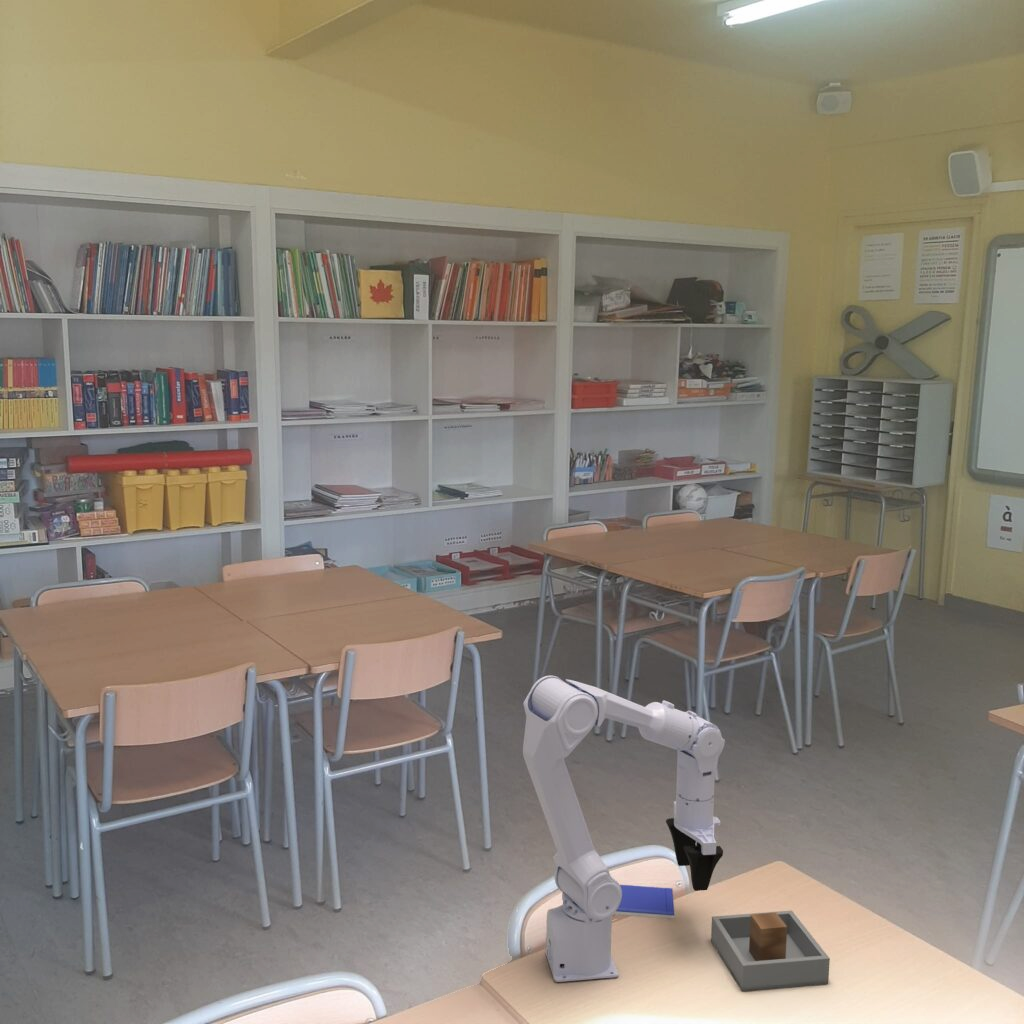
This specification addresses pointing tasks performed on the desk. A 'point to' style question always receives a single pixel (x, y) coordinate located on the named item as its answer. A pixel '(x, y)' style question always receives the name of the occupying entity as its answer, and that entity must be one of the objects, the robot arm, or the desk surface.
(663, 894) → the hard drive
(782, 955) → the walnut block
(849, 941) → the desk surface
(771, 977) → the grey bin
